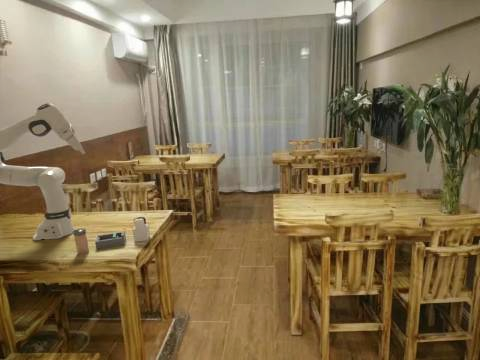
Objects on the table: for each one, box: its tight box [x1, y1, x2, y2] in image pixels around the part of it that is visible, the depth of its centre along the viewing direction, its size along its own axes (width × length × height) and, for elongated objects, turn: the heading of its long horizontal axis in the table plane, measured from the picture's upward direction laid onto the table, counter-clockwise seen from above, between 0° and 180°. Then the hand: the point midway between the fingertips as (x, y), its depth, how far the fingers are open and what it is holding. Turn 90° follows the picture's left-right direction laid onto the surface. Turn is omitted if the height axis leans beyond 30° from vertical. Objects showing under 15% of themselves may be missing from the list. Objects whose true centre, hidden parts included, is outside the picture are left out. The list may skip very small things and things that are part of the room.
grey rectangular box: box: [94, 230, 127, 250], centre depth 187 cm, size 14×10×5 cm
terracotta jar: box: [72, 227, 90, 256], centre depth 176 cm, size 6×6×12 cm
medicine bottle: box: [132, 216, 151, 243], centre depth 189 cm, size 7×7×12 cm
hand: (83, 151), depth 191 cm, fingers open, 8 cm apart
